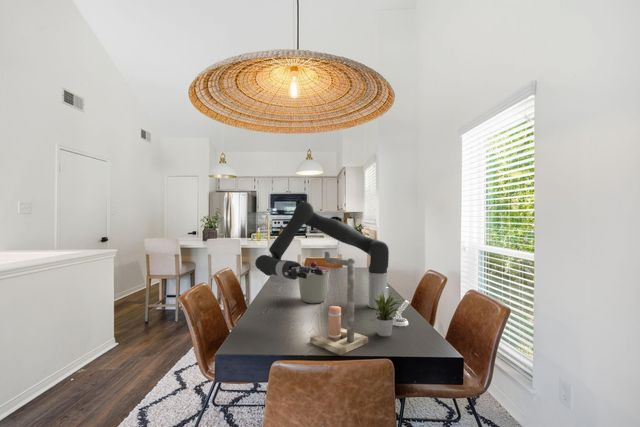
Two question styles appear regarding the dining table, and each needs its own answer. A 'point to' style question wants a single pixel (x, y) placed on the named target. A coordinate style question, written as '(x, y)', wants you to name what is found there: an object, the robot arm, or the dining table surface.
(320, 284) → the canister
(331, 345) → the wooden gallows stand
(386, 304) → the house plant
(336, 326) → the orange cylindrical bottle
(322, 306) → the dining table surface
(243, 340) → the dining table surface
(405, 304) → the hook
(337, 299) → the dining table surface
